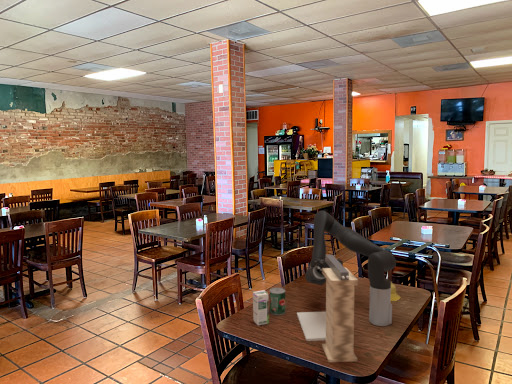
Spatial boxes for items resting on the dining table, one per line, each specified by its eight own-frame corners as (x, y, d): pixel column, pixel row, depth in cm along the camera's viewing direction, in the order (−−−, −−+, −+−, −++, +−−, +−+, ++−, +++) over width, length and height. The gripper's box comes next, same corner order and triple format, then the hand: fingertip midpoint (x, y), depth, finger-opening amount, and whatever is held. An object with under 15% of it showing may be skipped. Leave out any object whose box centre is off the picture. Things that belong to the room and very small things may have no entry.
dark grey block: (332, 261, 162) (332, 254, 162) (350, 281, 136) (350, 273, 136) (325, 261, 162) (325, 254, 161) (342, 282, 136) (342, 274, 136)
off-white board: (333, 313, 184) (333, 311, 184) (348, 339, 159) (348, 337, 159) (296, 314, 184) (296, 312, 184) (306, 341, 158) (306, 338, 158)
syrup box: (257, 326, 172) (257, 295, 170) (253, 320, 178) (252, 291, 176) (269, 323, 174) (268, 293, 173) (264, 318, 180) (263, 289, 178)
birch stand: (346, 341, 157) (347, 267, 153) (358, 361, 142) (359, 279, 138) (320, 342, 156) (320, 268, 153) (329, 363, 141) (329, 280, 138)
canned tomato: (286, 315, 183) (286, 293, 182) (270, 315, 183) (269, 293, 182) (284, 308, 191) (284, 287, 190) (269, 308, 191) (269, 287, 190)
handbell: (397, 304, 194) (398, 257, 192) (373, 298, 202) (374, 253, 199) (404, 296, 204) (405, 251, 202) (381, 291, 212) (382, 248, 209)
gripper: (306, 262, 177) (312, 253, 162) (336, 261, 178) (344, 252, 163) (307, 278, 174) (313, 270, 159) (338, 277, 175) (346, 269, 160)
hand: (329, 261), depth 161 cm, fingers open, 8 cm apart
